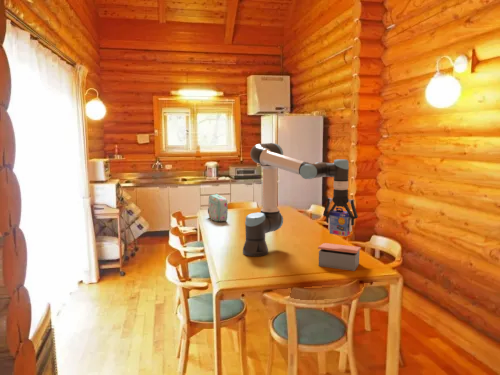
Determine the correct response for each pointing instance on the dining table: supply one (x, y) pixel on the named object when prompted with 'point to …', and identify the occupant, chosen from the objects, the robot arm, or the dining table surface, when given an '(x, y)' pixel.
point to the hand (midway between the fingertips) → (339, 230)
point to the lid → (339, 248)
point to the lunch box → (217, 208)
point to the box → (338, 259)
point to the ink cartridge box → (339, 222)
